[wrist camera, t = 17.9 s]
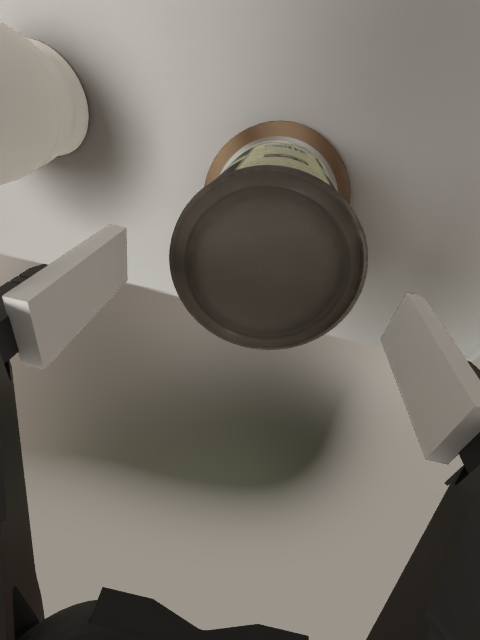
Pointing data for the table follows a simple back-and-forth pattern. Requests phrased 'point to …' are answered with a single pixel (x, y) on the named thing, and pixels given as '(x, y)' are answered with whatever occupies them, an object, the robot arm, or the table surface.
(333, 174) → the thin brown ring
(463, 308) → the table surface
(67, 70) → the jar
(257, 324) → the coffee can
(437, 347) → the robot arm
